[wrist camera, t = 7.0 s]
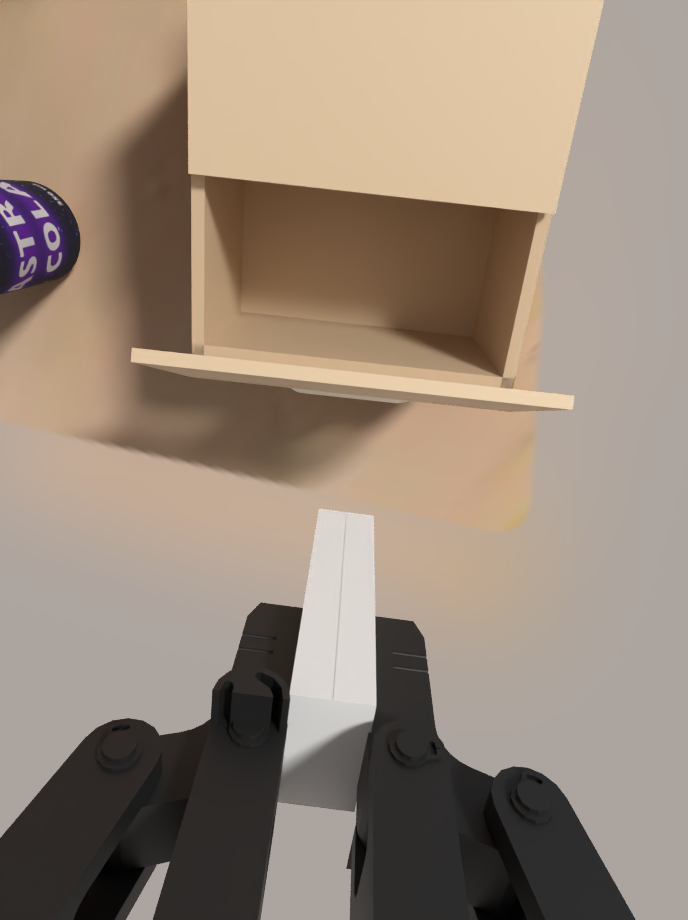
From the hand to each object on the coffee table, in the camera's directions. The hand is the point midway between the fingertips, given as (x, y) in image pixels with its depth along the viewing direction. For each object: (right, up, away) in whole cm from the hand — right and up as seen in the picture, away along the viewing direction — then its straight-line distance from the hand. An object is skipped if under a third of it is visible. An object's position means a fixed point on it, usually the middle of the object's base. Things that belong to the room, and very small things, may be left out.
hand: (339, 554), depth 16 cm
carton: (+2, +18, +19) cm, 26 cm away
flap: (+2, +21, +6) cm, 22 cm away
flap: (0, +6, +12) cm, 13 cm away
